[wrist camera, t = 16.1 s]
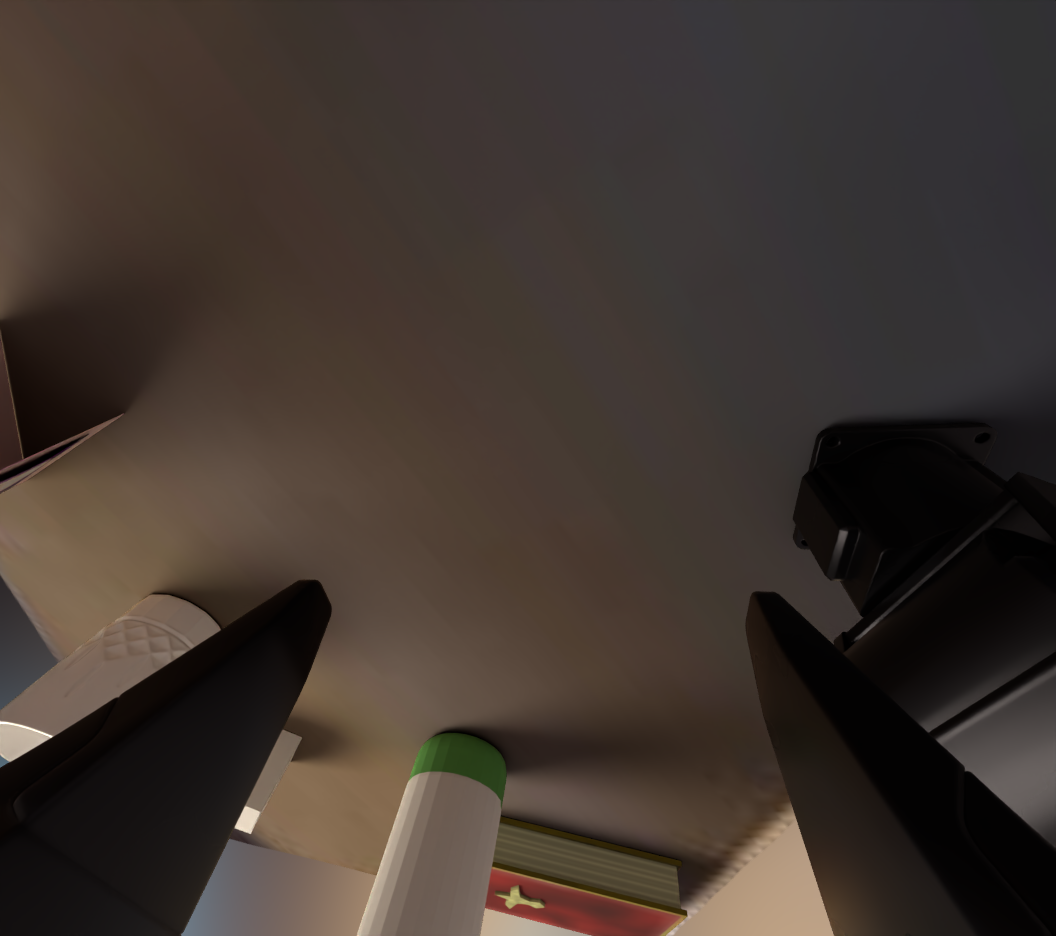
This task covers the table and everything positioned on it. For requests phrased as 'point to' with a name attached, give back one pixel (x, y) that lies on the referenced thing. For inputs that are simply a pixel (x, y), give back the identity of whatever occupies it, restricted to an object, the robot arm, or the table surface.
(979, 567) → the robot arm
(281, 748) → the cream cube
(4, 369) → the greeting card
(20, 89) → the table surface
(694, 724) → the table surface
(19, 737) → the white cup
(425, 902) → the wine bottle
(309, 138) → the table surface
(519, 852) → the hardcover book
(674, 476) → the table surface
